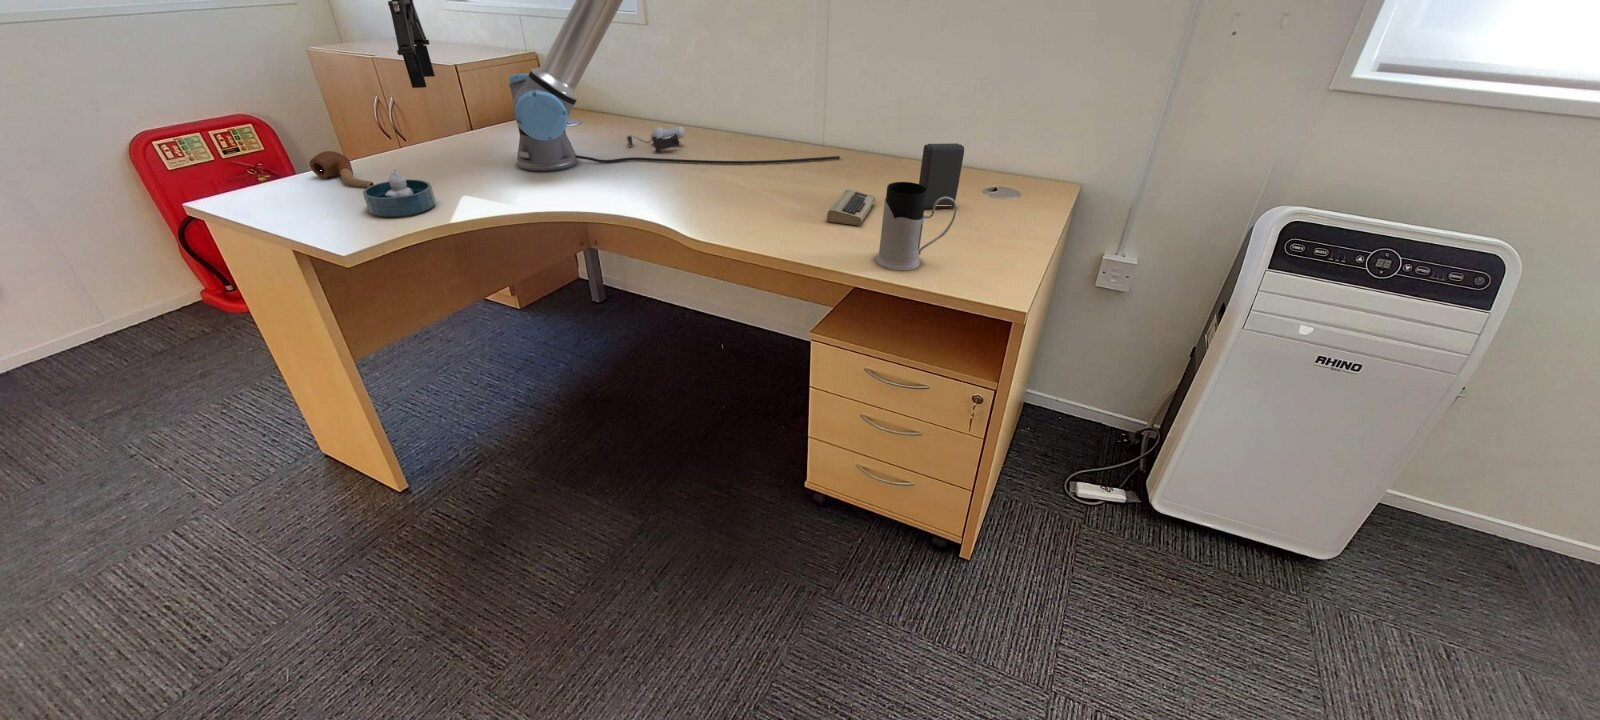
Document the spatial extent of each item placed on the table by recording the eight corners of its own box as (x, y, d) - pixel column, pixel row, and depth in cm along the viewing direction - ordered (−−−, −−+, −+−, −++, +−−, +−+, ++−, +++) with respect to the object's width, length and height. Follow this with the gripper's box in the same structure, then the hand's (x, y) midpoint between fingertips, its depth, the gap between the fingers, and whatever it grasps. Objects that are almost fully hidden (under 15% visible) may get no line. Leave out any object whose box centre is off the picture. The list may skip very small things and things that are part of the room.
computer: (861, 227, 144) (862, 212, 142) (826, 222, 146) (827, 208, 144) (874, 205, 157) (876, 191, 155) (842, 200, 159) (843, 187, 157)
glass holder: (875, 251, 133) (883, 179, 125) (944, 256, 132) (957, 184, 124) (876, 268, 125) (884, 193, 117) (949, 274, 125) (962, 198, 116)
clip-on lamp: (623, 160, 191) (680, 151, 187) (615, 139, 187) (673, 129, 183) (635, 146, 200) (689, 137, 196) (628, 126, 196) (683, 116, 193)
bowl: (440, 196, 151) (435, 178, 149) (430, 216, 140) (425, 196, 138) (377, 200, 148) (371, 181, 145) (362, 220, 137) (355, 200, 135)
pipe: (341, 170, 165) (332, 146, 162) (392, 182, 158) (385, 158, 155) (312, 178, 159) (302, 153, 156) (364, 190, 153) (355, 165, 149)
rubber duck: (423, 202, 146) (413, 167, 142) (402, 211, 140) (390, 175, 136) (403, 199, 147) (392, 164, 142) (381, 209, 141) (369, 173, 137)
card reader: (950, 203, 159) (960, 142, 151) (956, 209, 156) (966, 146, 148) (914, 204, 158) (923, 142, 150) (920, 210, 155) (929, 146, 146)
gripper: (383, -31, 142) (414, 72, 154) (358, -25, 122) (395, 93, 134) (421, -31, 144) (448, 71, 156) (402, -25, 124) (435, 91, 136)
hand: (424, 81), depth 145 cm, fingers open, 13 cm apart
